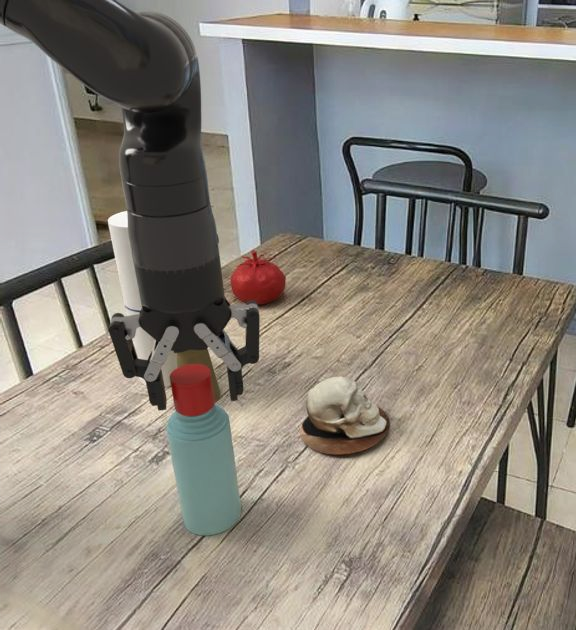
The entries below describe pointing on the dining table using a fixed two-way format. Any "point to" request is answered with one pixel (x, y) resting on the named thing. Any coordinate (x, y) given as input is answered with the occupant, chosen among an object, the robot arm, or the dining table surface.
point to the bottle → (205, 470)
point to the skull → (342, 418)
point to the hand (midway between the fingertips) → (199, 400)
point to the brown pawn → (199, 358)
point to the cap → (192, 389)
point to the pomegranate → (257, 280)
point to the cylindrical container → (134, 292)
